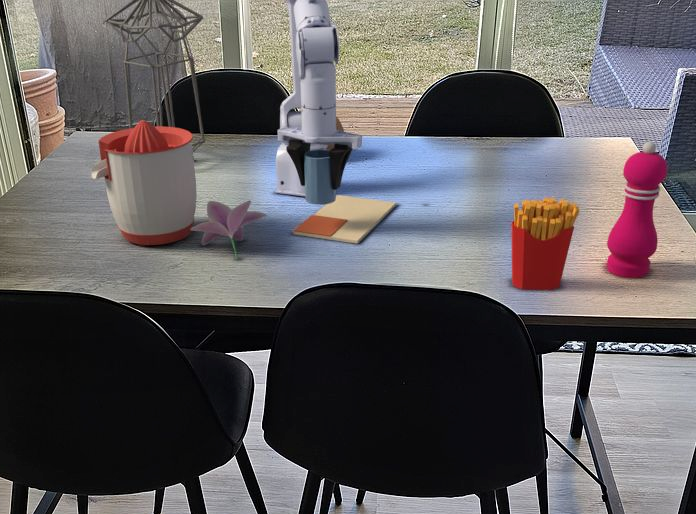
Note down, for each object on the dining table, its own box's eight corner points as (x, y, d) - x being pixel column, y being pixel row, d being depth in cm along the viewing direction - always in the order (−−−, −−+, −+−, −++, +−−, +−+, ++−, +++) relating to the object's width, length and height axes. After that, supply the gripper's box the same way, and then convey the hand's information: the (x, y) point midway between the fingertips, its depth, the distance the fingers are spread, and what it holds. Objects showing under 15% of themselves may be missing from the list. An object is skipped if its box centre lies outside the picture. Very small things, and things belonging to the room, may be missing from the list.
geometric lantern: (169, 149, 191) (150, -17, 173) (220, 159, 183) (206, -13, 165) (118, 166, 180) (92, -9, 162) (170, 179, 172) (149, -4, 154)
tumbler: (300, 202, 142) (298, 156, 138) (313, 192, 146) (311, 148, 142) (328, 206, 140) (328, 159, 136) (340, 196, 144) (340, 151, 140)
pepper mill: (596, 261, 132) (615, 136, 121) (640, 259, 132) (663, 133, 122) (613, 280, 125) (636, 150, 115) (659, 278, 126) (686, 147, 116)
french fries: (507, 289, 124) (516, 206, 117) (504, 277, 127) (512, 196, 121) (570, 290, 123) (582, 206, 116) (565, 278, 126) (577, 196, 120)
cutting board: (293, 234, 144) (293, 230, 144) (337, 197, 160) (337, 193, 159) (357, 243, 140) (357, 239, 139) (396, 205, 156) (396, 201, 155)
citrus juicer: (95, 228, 149) (75, 116, 138) (189, 213, 154) (177, 104, 144) (112, 260, 136) (92, 139, 126) (213, 242, 142) (202, 125, 132)
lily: (279, 249, 141) (262, 194, 141) (262, 248, 130) (245, 189, 129) (214, 269, 144) (198, 215, 143) (192, 270, 132) (175, 212, 131)
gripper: (267, 107, 135) (272, 188, 141) (350, 114, 129) (351, 198, 136) (286, 97, 140) (289, 176, 147) (366, 104, 135) (366, 185, 142)
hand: (320, 186), depth 142 cm, fingers closed on tumbler, 5 cm apart
